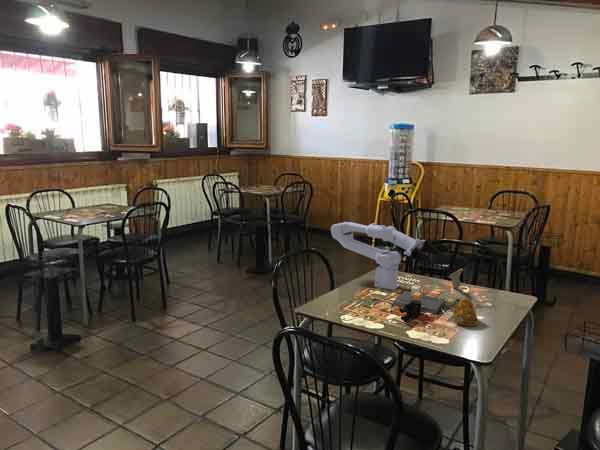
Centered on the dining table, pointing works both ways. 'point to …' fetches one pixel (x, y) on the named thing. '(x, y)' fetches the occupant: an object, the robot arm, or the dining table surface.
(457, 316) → the rock
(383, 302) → the dining table surface
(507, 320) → the dining table surface
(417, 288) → the block
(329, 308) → the dining table surface
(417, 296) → the fader orange
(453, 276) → the jawbone
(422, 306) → the panel
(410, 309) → the toy
